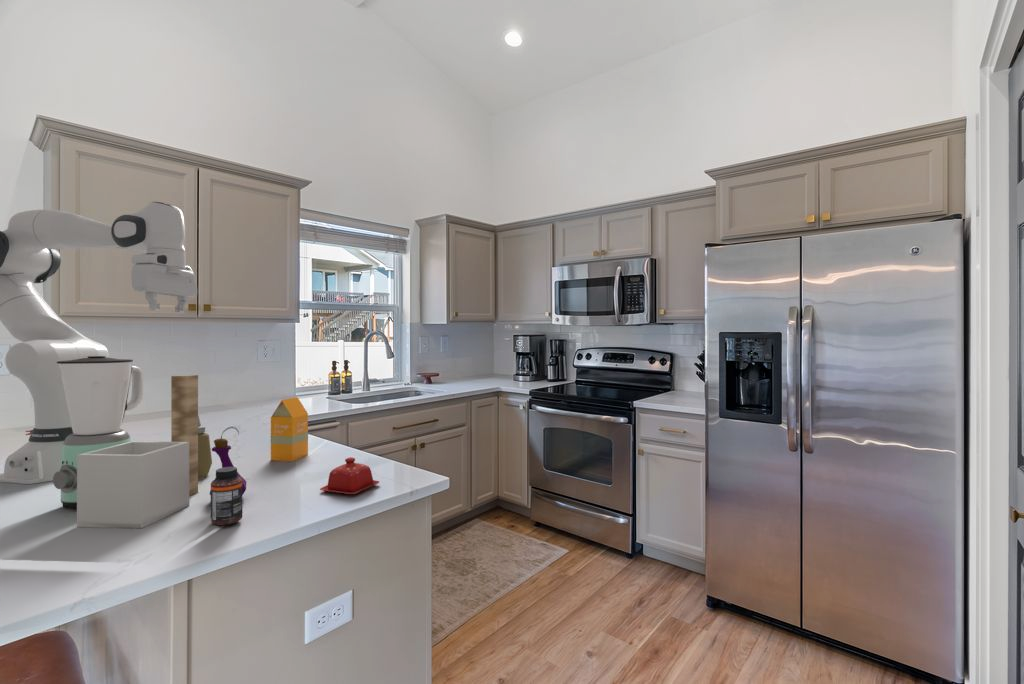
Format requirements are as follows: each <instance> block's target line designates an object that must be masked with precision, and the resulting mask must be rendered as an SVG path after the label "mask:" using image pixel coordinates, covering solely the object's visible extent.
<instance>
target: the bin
mask: <svg viewBox="0 0 1024 684" xmlns="http://www.w3.org/2000/svg"><path fill="white" fill-rule="evenodd" d="M189 506H190V496H189V442H171V441H154V440H153V441H150V440H148V441H143V440H140V441H139V440H137V441H136V440H131V442H127V443H123V444H119V445H115V446H111V447H107V448H103V449H99V450H95V451H91V452H87V453H83V454H79V455H77V507H76V527H78V528H103V529H104V528H105V529H106V528H109V529H110V528H111V529H113V528H114V529H143V528H145V527H147V526H149V525H152V524H153V523H156V522H158V521H160V520H162V519H164V518H166V517H168V516H171V515H172V514H173V515H174V513H177V512H179V511H181V510H183V509H186V508H188V507H189Z"/></svg>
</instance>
